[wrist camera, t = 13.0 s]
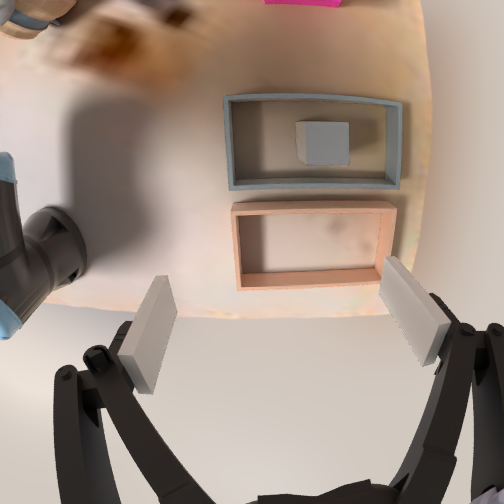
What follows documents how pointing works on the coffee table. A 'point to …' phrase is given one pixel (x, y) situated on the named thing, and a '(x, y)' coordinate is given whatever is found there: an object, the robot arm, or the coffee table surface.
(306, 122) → the stone block
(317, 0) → the bracket
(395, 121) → the trough
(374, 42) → the coffee table surface
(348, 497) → the robot arm
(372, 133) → the coffee table surface
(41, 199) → the coffee table surface
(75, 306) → the coffee table surface
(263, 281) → the trough
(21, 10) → the beige tall rounded piece
